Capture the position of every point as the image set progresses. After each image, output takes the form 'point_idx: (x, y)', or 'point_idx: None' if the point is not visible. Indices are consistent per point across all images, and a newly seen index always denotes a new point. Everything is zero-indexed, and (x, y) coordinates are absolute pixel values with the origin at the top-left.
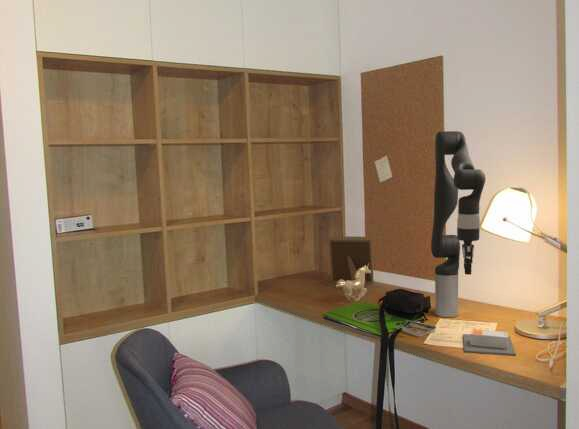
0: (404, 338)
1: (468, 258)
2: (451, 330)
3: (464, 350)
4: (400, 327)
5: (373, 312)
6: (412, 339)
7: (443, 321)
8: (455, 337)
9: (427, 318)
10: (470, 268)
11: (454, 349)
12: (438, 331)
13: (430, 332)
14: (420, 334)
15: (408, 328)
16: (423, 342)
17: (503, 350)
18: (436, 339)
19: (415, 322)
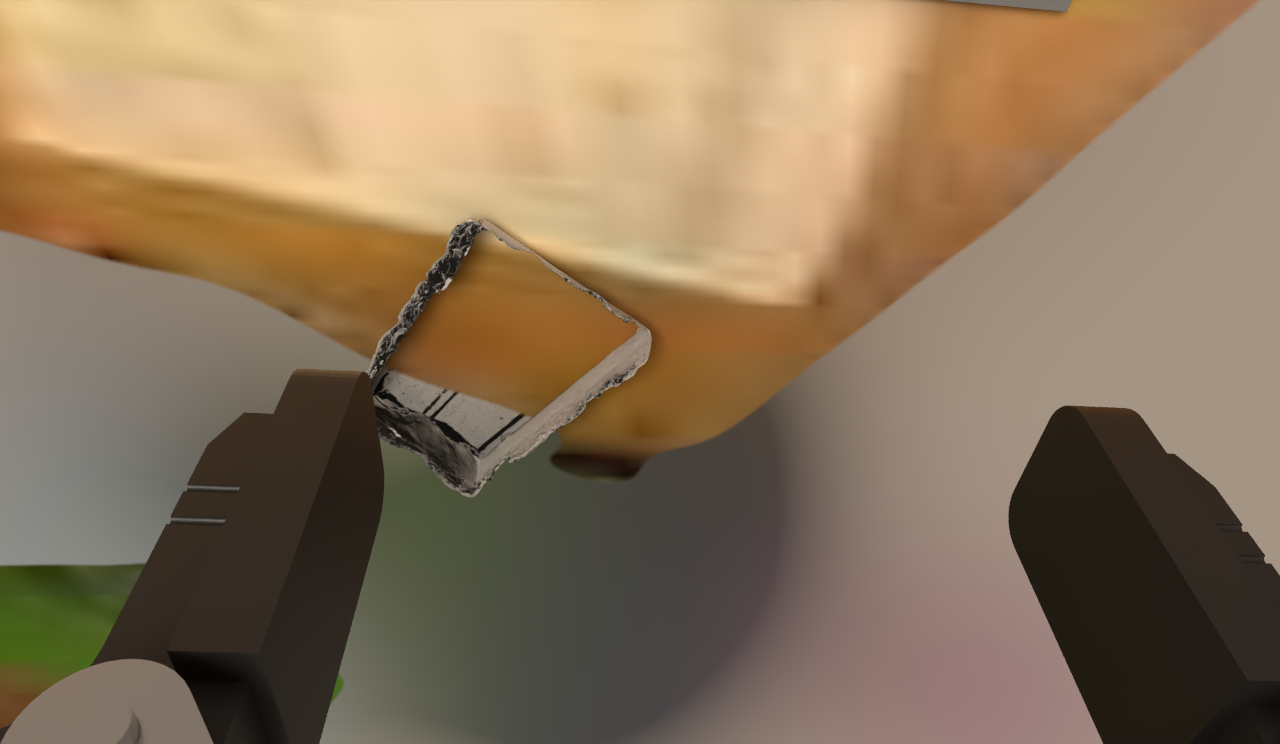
0: (690, 413)
1: (240, 722)
2: (398, 61)
3: (1065, 11)
4: (513, 452)
5: (117, 569)
6: (709, 369)
7: (108, 113)
8: (621, 44)
9: (78, 247)
10: (1206, 558)
11: (969, 88)
12: (462, 181)
13: (531, 251)
14: (648, 333)
15: (566, 417)
16: (778, 305)
17: None
18: (696, 212)
19: (378, 368)
